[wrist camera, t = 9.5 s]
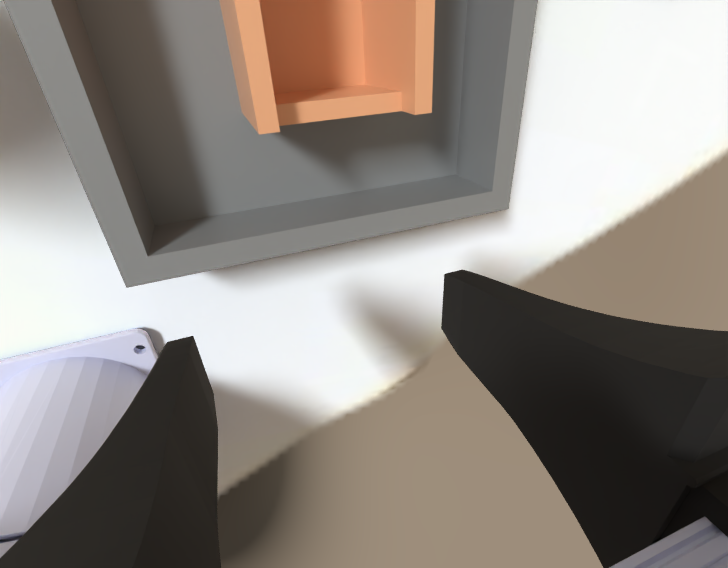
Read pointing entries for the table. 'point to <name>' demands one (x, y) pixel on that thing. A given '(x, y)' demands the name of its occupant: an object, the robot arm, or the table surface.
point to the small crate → (329, 58)
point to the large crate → (265, 135)
